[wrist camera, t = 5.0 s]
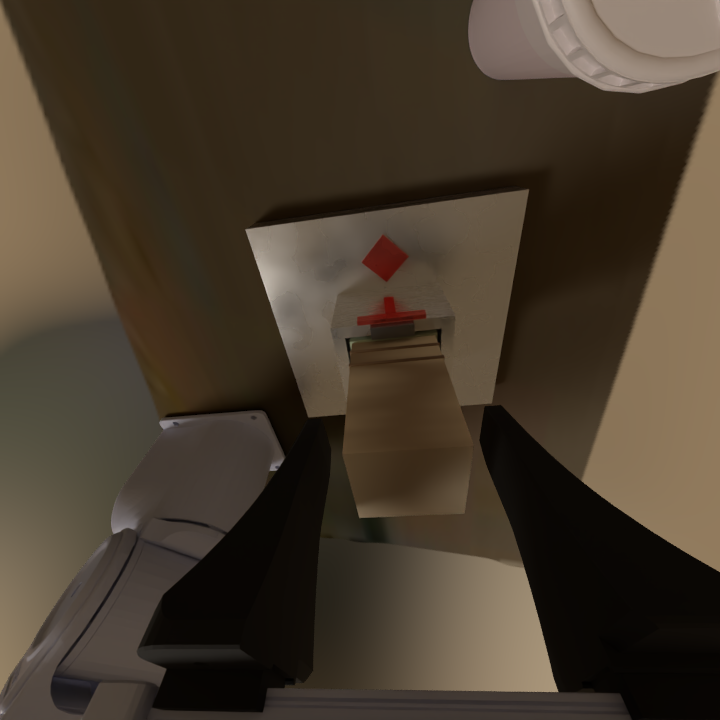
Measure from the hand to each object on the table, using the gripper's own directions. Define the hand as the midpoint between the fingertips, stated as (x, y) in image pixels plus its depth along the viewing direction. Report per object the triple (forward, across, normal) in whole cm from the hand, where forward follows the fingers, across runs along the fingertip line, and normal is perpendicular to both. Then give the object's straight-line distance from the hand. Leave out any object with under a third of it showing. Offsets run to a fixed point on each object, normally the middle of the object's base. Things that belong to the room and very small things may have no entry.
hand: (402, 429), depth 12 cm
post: (+5, 0, 0) cm, 5 cm away
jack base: (+9, 0, 0) cm, 9 cm away
